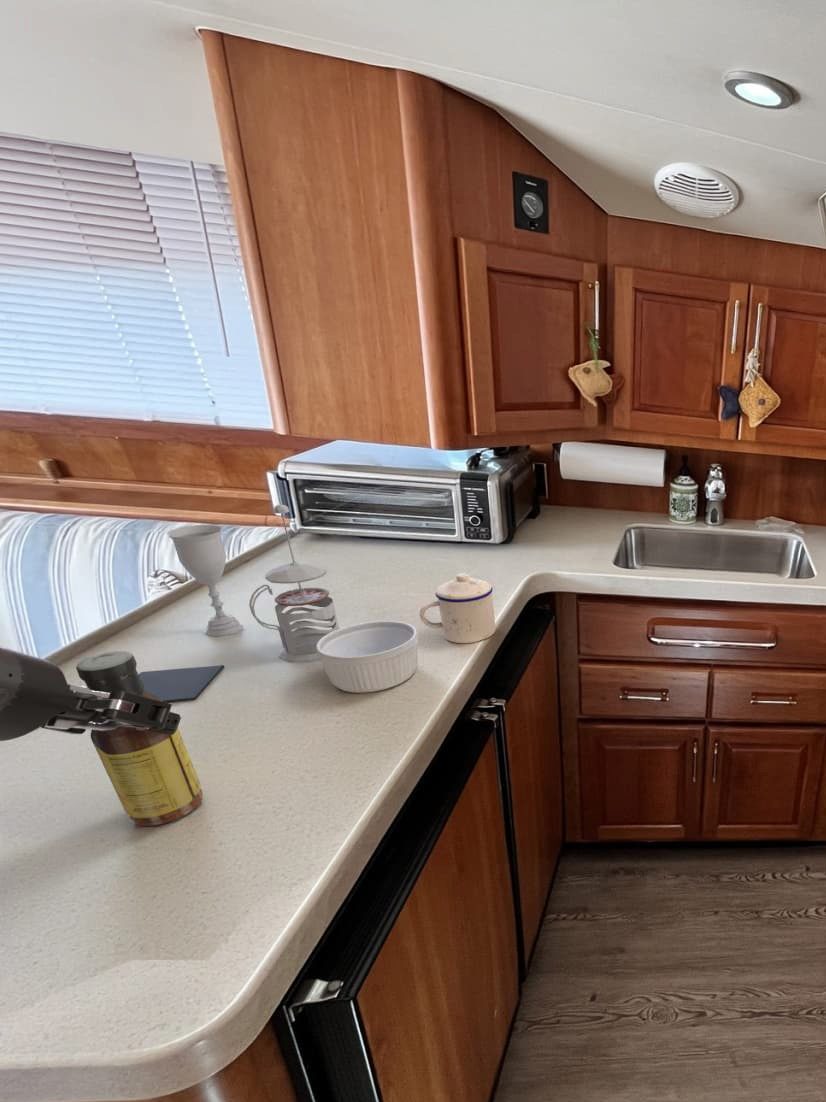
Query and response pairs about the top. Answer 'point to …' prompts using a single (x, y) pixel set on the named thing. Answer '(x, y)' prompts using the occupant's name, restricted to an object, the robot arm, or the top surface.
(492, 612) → the teacup with lid
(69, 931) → the top surface
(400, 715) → the top surface
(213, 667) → the mat
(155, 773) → the sauce bottle
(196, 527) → the chalice
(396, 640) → the ramekin
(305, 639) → the french press
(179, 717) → the robot arm
